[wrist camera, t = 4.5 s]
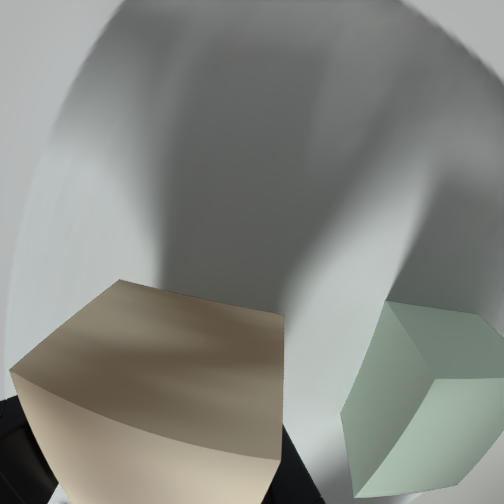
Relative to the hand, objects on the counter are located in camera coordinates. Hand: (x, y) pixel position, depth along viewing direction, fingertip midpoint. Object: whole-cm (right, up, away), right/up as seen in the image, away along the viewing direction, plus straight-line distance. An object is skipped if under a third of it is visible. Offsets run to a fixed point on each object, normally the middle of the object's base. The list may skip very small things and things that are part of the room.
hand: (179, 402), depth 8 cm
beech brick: (0, 0, +1) cm, 1 cm away
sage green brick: (+9, -1, +3) cm, 10 cm away
